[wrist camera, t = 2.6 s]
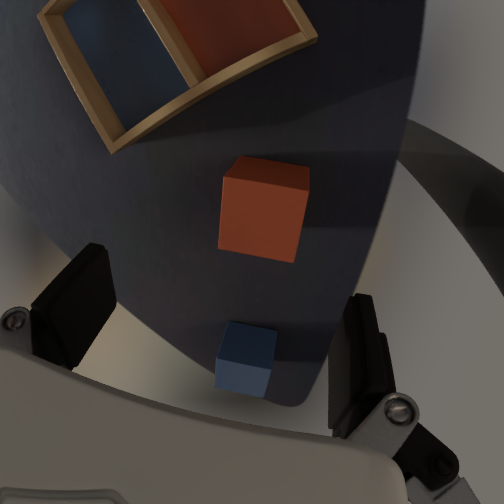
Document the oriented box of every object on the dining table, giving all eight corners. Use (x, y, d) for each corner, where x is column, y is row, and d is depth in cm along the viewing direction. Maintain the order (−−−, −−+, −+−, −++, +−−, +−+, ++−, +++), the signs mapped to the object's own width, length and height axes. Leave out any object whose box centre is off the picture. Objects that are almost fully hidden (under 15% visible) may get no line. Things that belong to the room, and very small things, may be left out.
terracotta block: (234, 216, 22) (218, 248, 18) (240, 155, 20) (223, 176, 16) (297, 227, 22) (293, 263, 18) (309, 167, 19) (309, 191, 16)
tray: (216, -96, 10) (203, -114, 8) (317, 42, 15) (318, 36, 13) (61, 16, 15) (36, 15, 13) (132, 144, 20) (111, 155, 18)
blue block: (225, 351, 30) (214, 387, 26) (228, 320, 27) (216, 358, 24) (270, 360, 29) (263, 398, 26) (278, 330, 27) (271, 369, 23)
